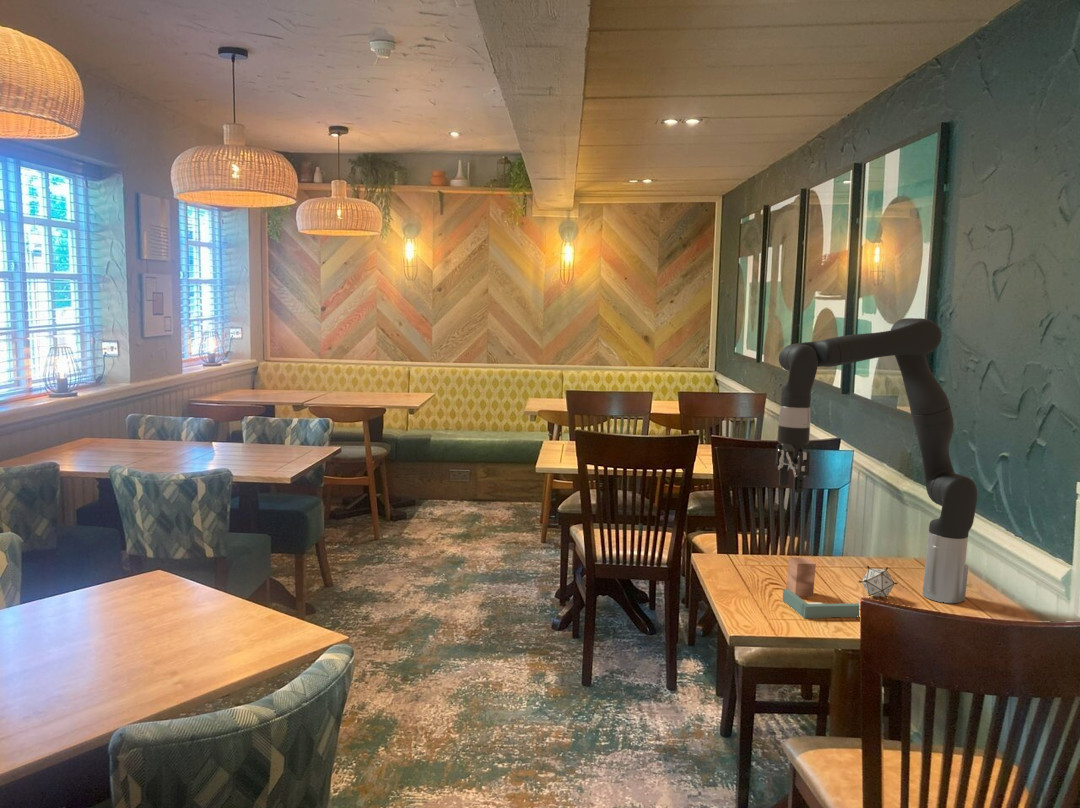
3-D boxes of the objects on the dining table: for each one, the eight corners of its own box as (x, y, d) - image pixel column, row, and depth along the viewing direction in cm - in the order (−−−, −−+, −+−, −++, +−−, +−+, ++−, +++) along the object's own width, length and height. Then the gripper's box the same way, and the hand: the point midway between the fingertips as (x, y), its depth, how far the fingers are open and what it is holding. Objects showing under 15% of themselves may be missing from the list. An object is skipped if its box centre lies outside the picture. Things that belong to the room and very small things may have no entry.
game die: (880, 613, 206) (890, 592, 199) (849, 594, 210) (858, 573, 203) (896, 591, 210) (906, 569, 203) (866, 573, 215) (875, 551, 208)
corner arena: (840, 600, 204) (841, 588, 203) (866, 617, 192) (867, 605, 192) (782, 600, 201) (783, 589, 201) (804, 618, 190) (805, 606, 189)
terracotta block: (803, 590, 210) (806, 557, 209) (812, 597, 205) (815, 563, 204) (786, 590, 209) (788, 557, 208) (794, 597, 204) (797, 563, 203)
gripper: (821, 428, 191) (817, 494, 192) (796, 421, 205) (792, 483, 206) (792, 428, 190) (788, 494, 191) (768, 420, 204) (764, 482, 206)
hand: (790, 488), depth 199 cm, fingers open, 8 cm apart
